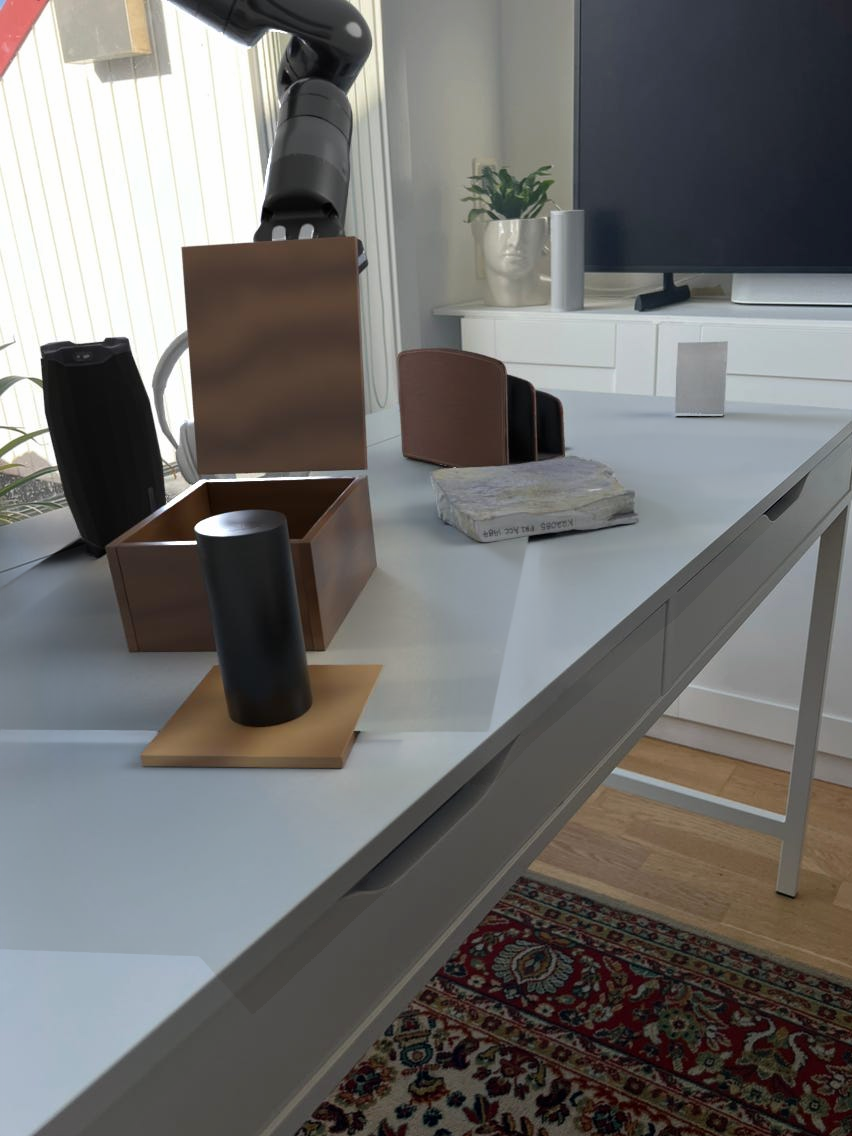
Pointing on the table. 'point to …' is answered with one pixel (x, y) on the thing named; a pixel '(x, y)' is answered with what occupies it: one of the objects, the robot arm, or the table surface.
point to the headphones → (187, 432)
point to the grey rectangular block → (701, 377)
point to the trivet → (301, 743)
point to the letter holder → (473, 411)
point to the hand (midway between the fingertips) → (287, 338)
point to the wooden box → (174, 576)
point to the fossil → (531, 498)
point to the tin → (255, 616)
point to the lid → (276, 356)
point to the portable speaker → (102, 437)
